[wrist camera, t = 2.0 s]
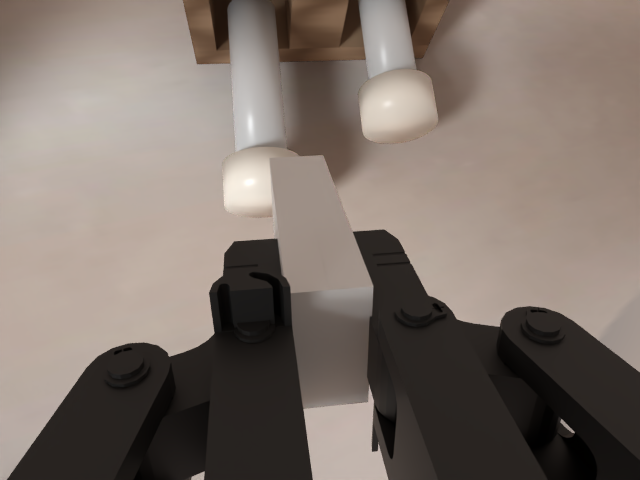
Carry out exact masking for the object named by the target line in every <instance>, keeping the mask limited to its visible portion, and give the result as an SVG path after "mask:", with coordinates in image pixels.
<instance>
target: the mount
mask: <svg viewBox="0 0 640 480" xmlns="http://www.w3.org/2000/svg"><path fill="white" fill-rule="evenodd" d="M231 1H232V0H183V3H184V7H185V12H186V16H187V21H188V25H189V30H190V34H191V39H192V43H193V48H194V52H195V57H196V61H197V64H221V63H230V48H229V31H228V14H227V9H228V5H229V4H230V2H231ZM270 1H271V2H272V3H273V5H274V7H275V16H276V27H277V39H278V51H279V62H292V61H327V60H363V59H366V56H365V49H364V41H363V34H362V27H361V19H360V12H359V4H358V0H270ZM448 2H449V0H405V3H406V9H407V15H408V21H409V27H410V34H411V40H412V46H413V52H414V58H423V56H424V54H425V52H426V50H427V48H428V45H429V43H430V41H431V39H432V37H433V35H434V32H435V30H436V28H437V26H438V24H439V22H440V20H441V17H442V15H443V13H444V11H445V9H446V7H447V4H448Z"/></svg>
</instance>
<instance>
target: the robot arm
mask: <svg viewBox="0 0 640 480" xmlns="http://www.w3.org/2000/svg"><path fill="white" fill-rule="evenodd" d="M269 160H270V177H271V194H272V211H273V227H274V239H264V240H250V241H235V242H234V243H233V244H232V245H231V246H230V248H229V249H228V250H227V251H226V252H225V254H224V270H223V276H222V277H221V278H219V279H218V280H217V281H216V282H215V283H213V285H212V287H211V290H210V292H209V295H210V303H211V310H212V317H213V325H214V332H215V334H214V335H213V336H212V337H211V338H210V339H209V340H208V341H206V342H205V343H203V344H201V345H200V346H198V347H196V348H194V349H191V350H189V351H186V352H183V353H180V354H177V355H174V356H171V357H169V356H168V353H167V352H166V351H165V350H163V349H162V348H160V347H159V346H157V345H153V344H148V343H129V344H125V345H122V346H119V347H115V348H112V349H110V350H109V351H107V352H105V353H103V354H102V355H100V356H98V357H97V358H96V359H95V360H94V361H93V362H92V363H91V364H90V365H89V366H88V367H87V368H86V369H85V371H84V372H83V374H82V375H81V376H80V378H79V379H78V381H77V382H76V383H75V385H74V386H73V388H72V389H71V391H70V392H69V393H68V395H67V396H66V398H65V399H64V400H63V402H62V403H61V405H60V406H59V407H58V409H57V410H56V412H55V413H54V414H53V416H52V417H51V419H50V420H49V421H48V423H47V424H46V426H45V427H44V428H43V430H42V431H41V433H40V434H39V436H38V437H37V438H36V440H35V441H34V443H33V444H32V445H31V447H30V448H29V450H28V451H27V452H26V454H25V455H24V457H23V458H22V459H21V461H20V462H19V464H18V465H17V466H16V468H15V469H14V471H13V472H12V473H11V475H10V476H9V478H8V479H7V480H191V477H192V476H194V475H197V474H199V473H201V472H204V471H205V476H204V480H313V479H312V471H311V464H310V456H309V449H308V441H307V434H306V426H305V419H304V411H303V409H305V408H314V407H324V406H334V405H343V404H353V403H362V402H368V391H369V385H370V389H371V392H372V396H373V399H374V411H373V429H372V452H373V451H378V442H379V446H380V450H381V453H382V457H383V461H384V464H385V468H386V472H387V476H388V479H389V480H640V372H638V371H637V370H636V369H634V368H633V367H632V366H630V365H629V364H628V363H627V362H625V361H624V360H623V359H622V358H620V357H619V356H618V355H616V354H615V353H613V352H612V351H611V350H610V349H609V348H607V347H606V346H605V345H603V344H602V343H601V342H600V341H598V340H597V339H596V338H594V337H593V336H592V335H590V334H589V333H588V332H587V331H585V330H584V329H583V328H581V327H580V326H579V325H578V324H576V323H575V322H574V321H572V320H571V319H569V318H567V317H565V316H564V315H562V314H560V313H558V312H555V311H552V310H549V309H546V308H540V307H531V306H528V307H519V308H515V309H513V310H511V311H509V312H506V314H505V315H504V317H503V318H502V320H501V324H500V327H495V326H488V325H480V324H473V323H468V322H463V321H460V320H457V319H456V317H455V316H454V314H453V312H452V311H451V310H450V309H449V307H448V306H447V305H446V304H445V303H443V302H441V301H439V300H438V299H436V298H434V297H430V296H428V295H427V293H426V291H425V289H424V287H423V285H422V283H421V281H420V279H419V278H418V276H417V274H416V272H415V270H414V268H413V266H412V264H410V261H409V259H408V257H407V255H406V254H405V251H404V249H403V247H402V245H401V244H400V242H399V240H398V239H397V238H395V237H394V236H393V235H391V234H390V233H388V232H387V231H386V230H371V231H357V232H352V229H351V226H350V224H349V221H348V219H347V216H346V213H345V211H344V208H343V206H342V203H341V200H340V198H339V195H338V192H337V190H336V187H335V185H334V182H333V179H332V177H331V174H330V172H329V169H328V166H327V164H326V161H325V159H324V156H323V155H314V156H295V157H276V158H269ZM561 419H563V420H564V421H565V422H566V424H568V426H569V427H570V428H572V430H573V431H574V432H575V434H574V433H571V432H570V431H569V430H567V429H566V428H565V427H564V426H563V425H562V424H561V423H560V421H561Z"/></svg>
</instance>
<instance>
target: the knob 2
mask: <svg viewBox="0 0 640 480" xmlns="http://www.w3.org/2000/svg"><path fill="white" fill-rule="evenodd" d="M358 4H359V12H360V19H361V27H362V34H363V41H364V49H365V56H366V63H367V71H368V78H369V80H368V81H366V82H365V83H364V84H363V85H362V86H361V88H360V89H359V92H358V100H359V108H360V116H361V123H362V131H363V135H364V136H365V138H367V139H368V140H370V141H373V142H376V143H383V144H394V143H402V142H407V141H411V140H414V139H417V138H420V137H422V136H424V135H426V134H427V133H429V132H430V131H432V130H433V129H434V128H435V127H436V125H437V124H438V114H437V108H436V102H435V96H434V90H433V85H432V80H431V78H430V77H429V76H428V75H427V74H426V73H424V72H422V71H418V70H416V64H415V58H414V52H413V46H412V40H411V34H410V27H409V21H408V15H407V9H406V3H405V0H358Z"/></svg>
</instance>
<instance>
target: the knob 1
mask: <svg viewBox="0 0 640 480" xmlns="http://www.w3.org/2000/svg"><path fill="white" fill-rule="evenodd" d="M227 14H228V31H229V48H230V65H231V82H232V99H233V117H234V134H235V151H236V152H235V153H232V154H231V155H229V156H228V157H226V158H225V159H224V161H223V163H222V170H223V189H224V207H225V209H226V210H227V211H228V212H230V213H232V214H234V215H238V216H243V217H255V218H262V217H273V211H272V194H271V177H270V160H269V158H276V157H295V156H299V155H298V154H297V153H295V152H293V151H291V150H288V149H287V143H286V132H285V120H284V109H283V97H282V85H281V74H280V62H279V51H278V39H277V27H276V16H275V7H274V5H273V3H272V2H271V1H270V0H232V1H231V2H230V4H229V5H228V9H227Z"/></svg>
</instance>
